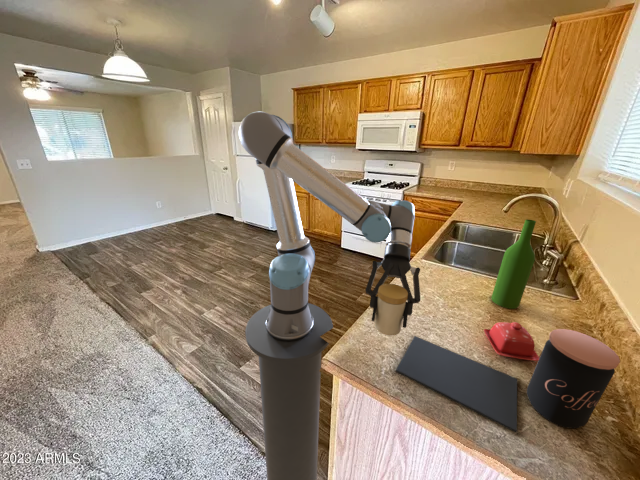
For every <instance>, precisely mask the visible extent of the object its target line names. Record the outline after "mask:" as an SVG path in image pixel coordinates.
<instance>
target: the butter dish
mask: <svg viewBox="0 0 640 480" xmlns="http://www.w3.org/2000/svg"><path fill="white" fill-rule="evenodd" d="M483 332H484V334H485V336H486V339H488V342H489V343H490V345H491V347H492V348H493V350H494V351H495V352H496V354H497V355H499V356H501V357H506V358H513V359H519V360H527V361H533V362H538V360H539V358H540V355H538V353H537V352H536V350H535V345H536V344H535V341H534V339H533V337H532V335H531V334H530V332H529V331H528V330H527V328H525V327H523V325H522V324H521V323H519V322H516V321H512V322H506V321H505V322H503V321H502V322H501V321H500V322H495V323H494V324H493V325H492V327H491V328H484V329H483Z"/></svg>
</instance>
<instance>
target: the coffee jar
mask: <svg viewBox="0 0 640 480" xmlns="http://www.w3.org/2000/svg"><path fill="white" fill-rule="evenodd" d="M620 363H621V360H620V356H619V355H618V354H617V352H616V351H615V350H613V349H612V348H611V347H609V345H607V344H606V343H604V342H602V341H600V340H598V339H597V338H594V337H592V336H590V335H588V334H585V333H582V332H580V331H577V330H572V329H567V328H556V329H553V330H551V331H550V332H549V336H548V340H546V341H545V344H544V346H543V349H542V351H541V353H540V355H539V360H538V361H537V363H536V365H535V367H534V370H533V373H532V375H531V378H530V380H529V382H528V385H527V387H526V396H527V398H528V401H529V403H530V404H531V406H532V407H533V409H534V410H535V411H536V412H537V413H538V414H539V415H540V416H542V417H543V418H544V419H546V420H548V422H550V423H553V424H555V425H557V426H558V427H562V428H566V429H579V428H582V427H585V426H586V425H587V423H588V421H589V420H590V418H591V416H592V414H593V412H594V411H595V409H596V407H597V405H598V404H599V401H600V400H601V398H602V396H603V394H604V392H605V390H606V389H607V388H608V385H609V383H610V382H611V379H612V378H613V376H614V374H615V372H616V370H615V369H617V367H618V366H619V364H620Z"/></svg>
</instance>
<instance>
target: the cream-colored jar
mask: <svg viewBox="0 0 640 480" xmlns="http://www.w3.org/2000/svg"><path fill="white" fill-rule="evenodd" d="M377 296H378V295H377ZM406 302H407V301H406ZM406 302H405V303H403V304H390V303H387V302H385V301H383V300H381V299H380V298H379V296H378V300H377V307H376V314H375V321H373V326H374V328H375V330H376V331H378V332H379V333H380V334H383V335H386V336H398V334H400V333H401V332H402V328H403V317H404V311H405V306H406Z"/></svg>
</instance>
